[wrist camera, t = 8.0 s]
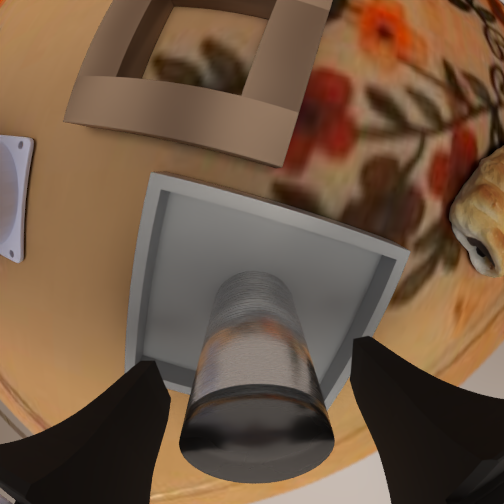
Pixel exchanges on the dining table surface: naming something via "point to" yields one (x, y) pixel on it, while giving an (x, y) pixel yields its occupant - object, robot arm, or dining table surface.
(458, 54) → the dining table surface
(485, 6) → the dining table surface
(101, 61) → the eye block
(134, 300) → the tray
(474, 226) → the pastry
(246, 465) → the steel pin
